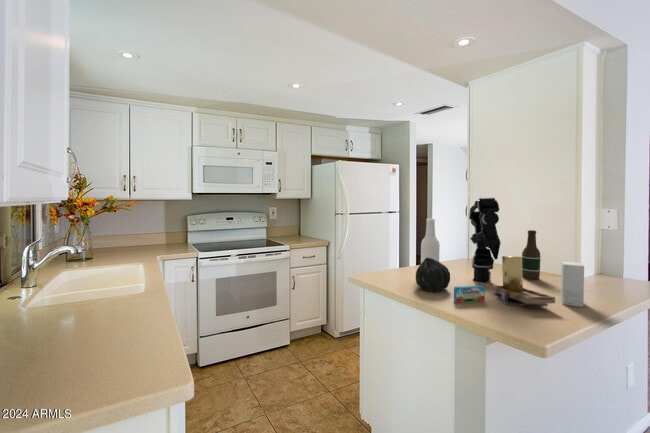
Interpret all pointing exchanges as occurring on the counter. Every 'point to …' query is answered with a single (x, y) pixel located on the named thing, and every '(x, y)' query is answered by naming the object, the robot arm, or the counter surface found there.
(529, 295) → the brown wooden tray
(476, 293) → the yogurt
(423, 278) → the squash
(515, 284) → the cylinder
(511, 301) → the pivot stand
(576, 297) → the skincare box
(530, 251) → the beer bottle
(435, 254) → the alcohol
